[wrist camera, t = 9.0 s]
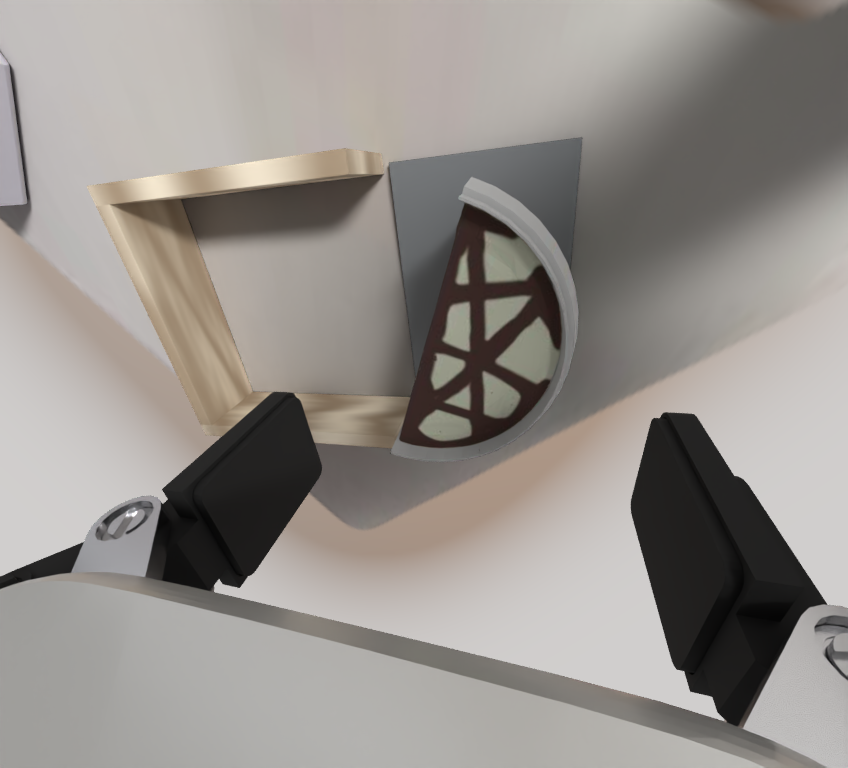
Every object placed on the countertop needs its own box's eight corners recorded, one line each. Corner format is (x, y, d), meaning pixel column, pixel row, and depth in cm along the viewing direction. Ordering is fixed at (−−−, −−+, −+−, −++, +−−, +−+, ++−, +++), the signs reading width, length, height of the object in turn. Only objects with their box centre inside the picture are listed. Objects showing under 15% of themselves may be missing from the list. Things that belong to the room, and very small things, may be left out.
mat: (581, 138, 18) (582, 137, 18) (558, 383, 25) (559, 386, 24) (391, 162, 21) (388, 162, 20) (417, 380, 27) (416, 382, 27)
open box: (381, 153, 20) (345, 148, 16) (414, 408, 29) (396, 448, 24) (162, 183, 24) (86, 186, 20) (246, 400, 32) (205, 435, 28)
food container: (513, 396, 26) (509, 505, 17) (430, 368, 26) (387, 461, 18) (600, 209, 19) (664, 237, 11) (488, 175, 19) (463, 177, 11)
